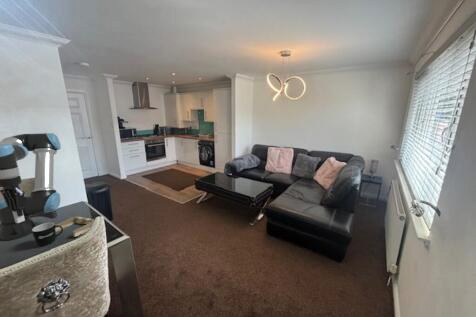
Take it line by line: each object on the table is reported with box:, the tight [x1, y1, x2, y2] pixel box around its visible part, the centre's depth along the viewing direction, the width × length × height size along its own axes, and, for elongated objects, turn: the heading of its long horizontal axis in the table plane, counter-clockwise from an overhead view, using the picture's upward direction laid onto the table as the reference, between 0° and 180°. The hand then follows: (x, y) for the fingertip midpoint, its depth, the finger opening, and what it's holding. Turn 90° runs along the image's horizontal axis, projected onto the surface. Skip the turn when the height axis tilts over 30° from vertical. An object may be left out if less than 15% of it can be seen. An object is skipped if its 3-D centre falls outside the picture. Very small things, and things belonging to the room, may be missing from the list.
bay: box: [55, 215, 96, 238], centre depth 123 cm, size 19×14×4 cm
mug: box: [31, 222, 64, 247], centre depth 111 cm, size 12×9×10 cm
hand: (20, 221), depth 98 cm, fingers closed
